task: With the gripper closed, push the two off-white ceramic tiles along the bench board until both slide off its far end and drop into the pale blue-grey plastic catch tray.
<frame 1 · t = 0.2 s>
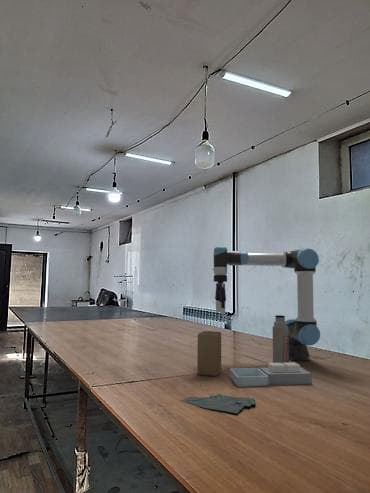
hand: (220, 313, 203), 28 cm above the table, fingers open, 13 cm apart
decorative slab: (221, 406, 136), on the table
catch tray: (248, 381, 168), on the table
tile near: (291, 370, 170), point 4 cm above the table, touching bench board
tile far: (276, 370, 170), point 4 cm above the table, touching bench board
bench board: (285, 380, 170), on the table
wooden block: (209, 374, 181), on the table
thermos bottle: (280, 370, 189), on the table
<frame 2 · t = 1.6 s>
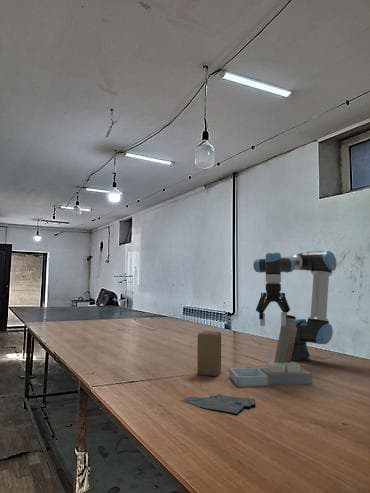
hand: (273, 325, 183), 24 cm above the table, fingers open, 13 cm apart
thermos bottle: (280, 369, 189), point 1 cm above the table, touching gripper
everything else where it was.
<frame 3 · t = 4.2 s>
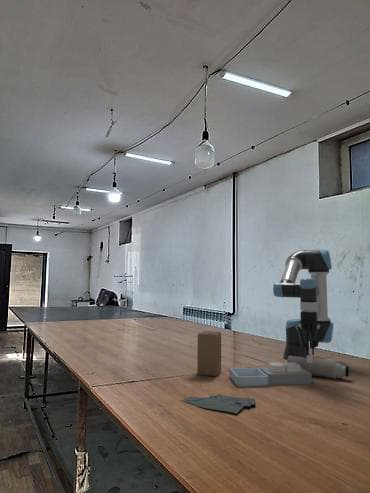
hand: (309, 362, 171), 8 cm above the table, fingers closed
thermos bottle: (288, 363, 187), point 4 cm above the table
everything else where it was.
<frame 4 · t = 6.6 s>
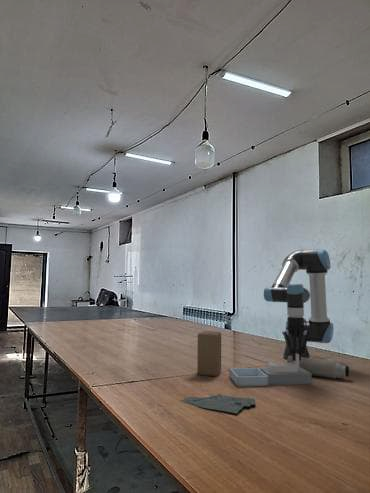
hand: (296, 367, 171), 6 cm above the table, fingers closed
tile near: (288, 370, 170), point 5 cm above the table, touching gripper, tile far
tile far: (276, 370, 170), point 5 cm above the table, touching tile near
everything else where it was.
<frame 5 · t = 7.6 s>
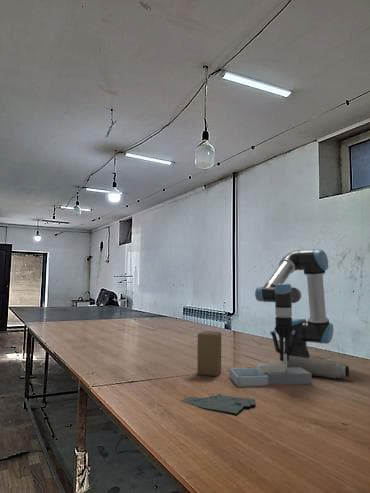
hand: (284, 368, 170), 6 cm above the table, fingers closed
tile near: (276, 370, 169), point 5 cm above the table, touching gripper
tile far: (264, 370, 169), point 5 cm above the table
everything else where it was.
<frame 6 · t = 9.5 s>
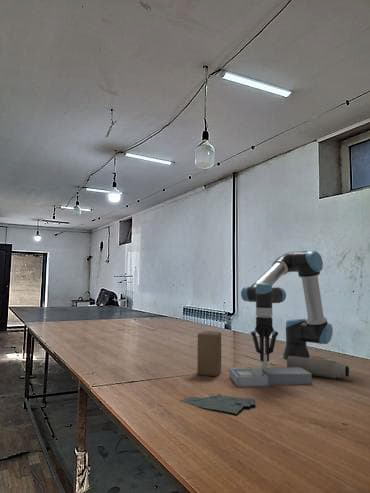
hand: (264, 368, 169), 6 cm above the table, fingers closed
tile near: (259, 373, 169), point 4 cm above the table, tilted 90°, touching catch tray
tile far: (245, 373, 168), point 4 cm above the table, tilted 180°, touching catch tray
everything else where it was.
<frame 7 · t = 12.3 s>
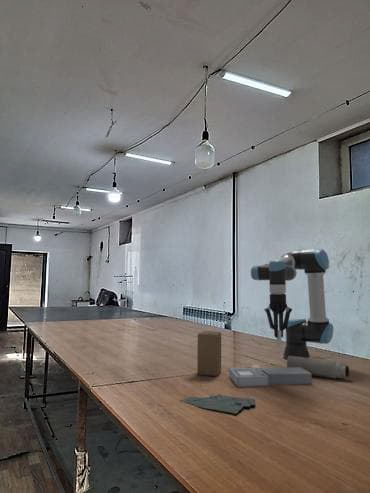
hand: (279, 344, 171), 16 cm above the table, fingers closed
nothing on the table moved.
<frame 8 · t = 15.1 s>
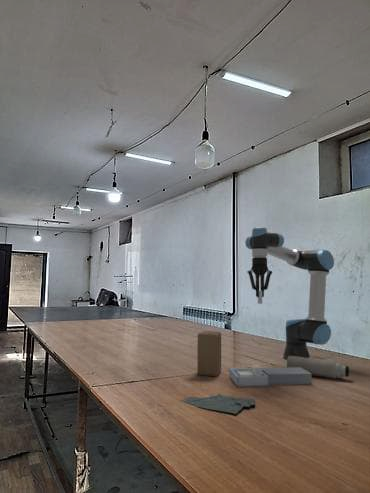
hand: (260, 303, 187), 34 cm above the table, fingers closed
nothing on the table moved.
at the end: tile near inside the target area on the catch tray (5.4 cm from its centre), point 3.6 cm above the catch tray's base; tile far inside the target area on the catch tray (1.3 cm from its centre), point 3.6 cm above the catch tray's base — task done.
